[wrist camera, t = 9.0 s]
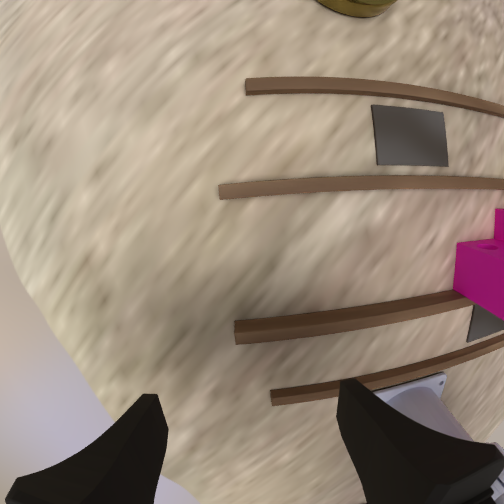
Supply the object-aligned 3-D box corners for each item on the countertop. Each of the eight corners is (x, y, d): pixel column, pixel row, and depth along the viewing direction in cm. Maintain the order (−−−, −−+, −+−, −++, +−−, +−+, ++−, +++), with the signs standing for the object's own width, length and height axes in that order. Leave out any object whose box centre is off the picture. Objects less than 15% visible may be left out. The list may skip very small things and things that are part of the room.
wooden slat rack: (536, 325, 23) (557, 339, 19) (244, 400, 22) (246, 436, 18) (548, 124, 17) (575, 123, 14) (212, 86, 17) (205, 63, 13)
